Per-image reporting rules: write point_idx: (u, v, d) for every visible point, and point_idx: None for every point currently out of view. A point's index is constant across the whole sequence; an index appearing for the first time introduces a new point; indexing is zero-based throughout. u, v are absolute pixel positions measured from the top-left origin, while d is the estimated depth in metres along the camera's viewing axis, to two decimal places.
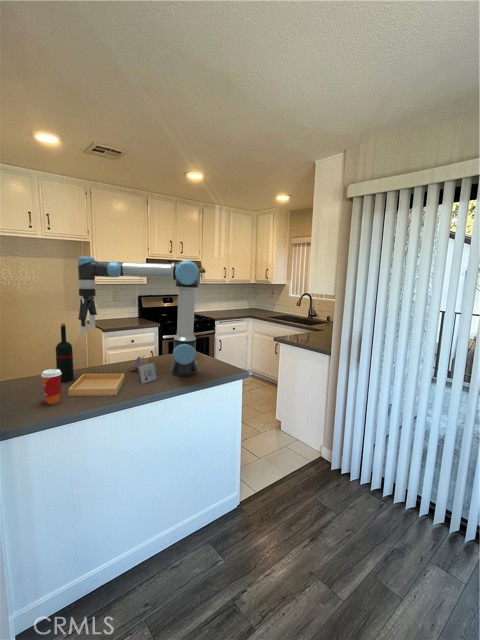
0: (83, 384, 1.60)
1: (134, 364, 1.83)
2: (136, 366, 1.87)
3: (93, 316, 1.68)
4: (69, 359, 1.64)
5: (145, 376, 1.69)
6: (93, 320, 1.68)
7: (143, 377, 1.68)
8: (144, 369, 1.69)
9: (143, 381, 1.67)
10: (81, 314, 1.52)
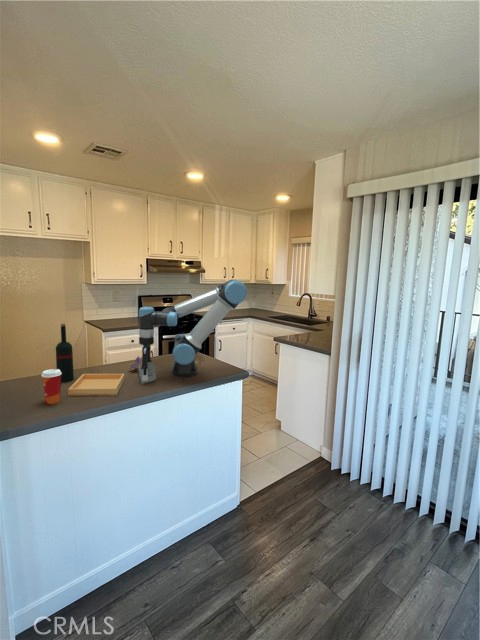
0: (83, 384, 1.60)
1: (133, 364, 1.83)
2: (136, 366, 1.87)
3: (149, 363, 1.75)
4: (69, 359, 1.64)
5: None
6: None
7: None
8: None
9: (143, 381, 1.67)
10: (144, 364, 1.62)
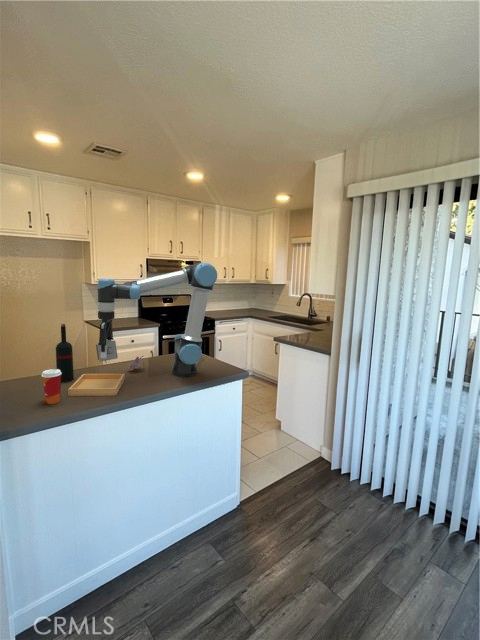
0: (83, 384, 1.60)
1: (133, 364, 1.83)
2: (135, 366, 1.87)
3: None
4: (69, 359, 1.64)
5: None
6: None
7: None
8: None
9: (101, 359, 1.55)
10: (101, 340, 1.50)
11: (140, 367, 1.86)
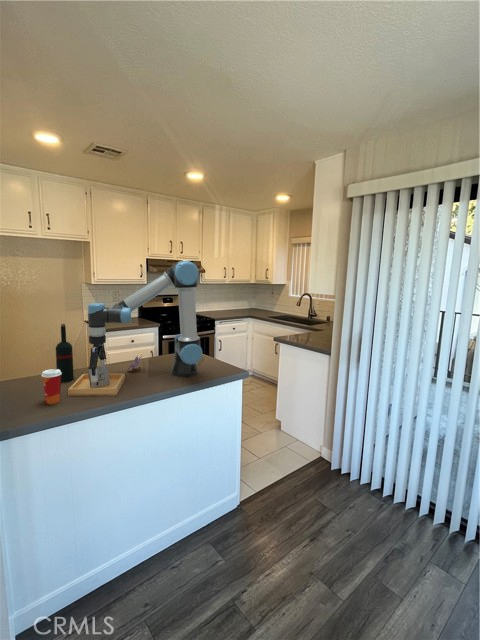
0: (83, 384, 1.60)
1: (132, 364, 1.82)
2: (134, 366, 1.87)
3: (103, 361, 1.64)
4: (69, 359, 1.64)
5: None
6: (103, 365, 1.64)
7: (93, 382, 1.55)
8: None
9: (93, 386, 1.55)
10: (91, 364, 1.48)
11: (139, 367, 1.86)
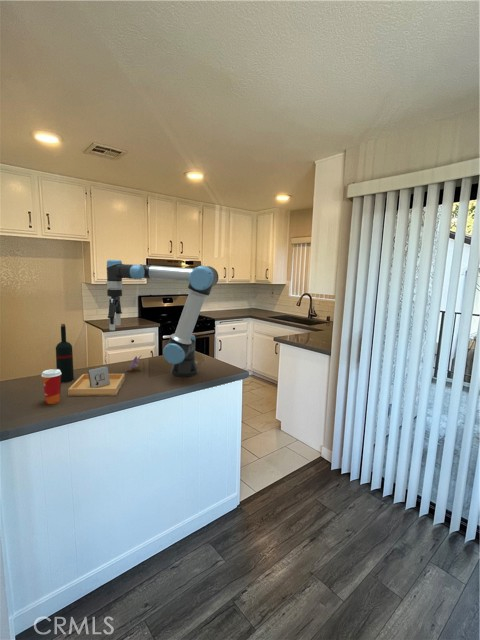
0: (83, 384, 1.60)
1: (131, 364, 1.82)
2: (133, 366, 1.86)
3: (119, 315, 1.81)
4: (69, 359, 1.64)
5: (96, 381, 1.56)
6: (119, 318, 1.81)
7: (93, 382, 1.55)
8: (94, 373, 1.56)
9: (93, 386, 1.55)
10: (110, 313, 1.65)
11: (138, 367, 1.85)
